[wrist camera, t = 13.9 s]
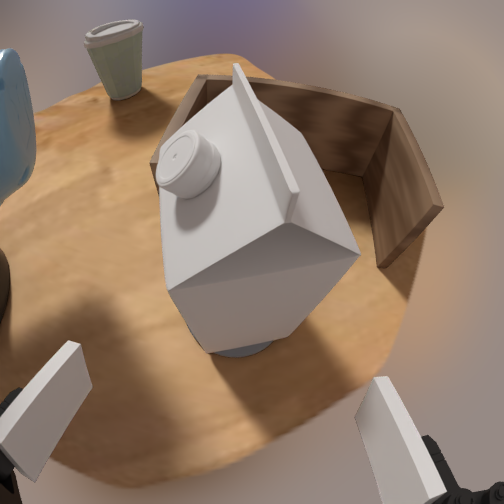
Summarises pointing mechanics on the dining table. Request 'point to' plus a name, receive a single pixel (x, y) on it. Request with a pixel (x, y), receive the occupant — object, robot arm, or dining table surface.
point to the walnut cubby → (344, 150)
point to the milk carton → (247, 223)
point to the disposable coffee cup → (117, 56)
